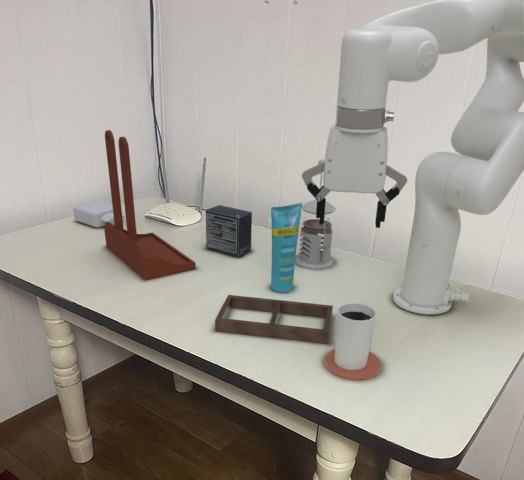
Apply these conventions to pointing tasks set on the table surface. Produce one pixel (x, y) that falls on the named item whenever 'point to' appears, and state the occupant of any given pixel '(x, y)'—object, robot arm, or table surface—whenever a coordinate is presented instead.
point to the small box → (228, 230)
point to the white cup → (354, 335)
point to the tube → (284, 245)
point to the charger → (94, 213)
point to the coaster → (364, 373)
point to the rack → (274, 319)
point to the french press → (315, 238)
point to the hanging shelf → (128, 241)
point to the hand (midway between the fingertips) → (349, 223)
